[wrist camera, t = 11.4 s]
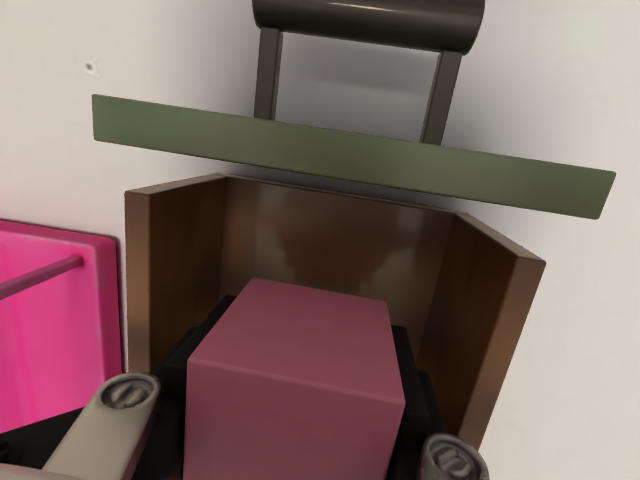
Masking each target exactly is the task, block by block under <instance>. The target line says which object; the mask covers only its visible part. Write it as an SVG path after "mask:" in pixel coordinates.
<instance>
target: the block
mask: <svg viewBox="0 0 640 480" xmlns="http://www.w3.org/2000/svg"><path fill="white" fill-rule="evenodd" d="M404 407H405V397H404V392H403V387H402V382H401V376H400V371H399V366H398V360H397V355H396V350H395V345H394V339H393V334H392V329H391V324H390V318H389V313H388V308H387V303H386V302H385V301H382V300H376V299H371V298H365V297H359V296H354V295H348V294H343V293H337V292H332V291H326V290H320V289H315V288H309V287H304V286H298V285H293V284H287V283H282V282H276V281H270V280H265V279H259V278H252V279H251V280H250V281H249V283H248V284H247V285H246V286H245V288H244V289H243V290H242V291H241V293H240V294H239V295H238V296H237V298H236V299H235V300H234V301H233V303H232V304H231V305H230V306H229V308H228V309H227V310H226V312H225V313H224V314H223V315H222V317H221V318H220V319H219V320H218V322H217V323H216V324H215V325H214V327H213V328H212V329H211V330H210V332H209V333H208V334H207V335H206V337H205V338H204V339H203V340H202V342H201V343H200V344H199V346H198V347H197V348H196V349H195V351H194V352H193V353H192V354H191V356H190V357H189V358H188V361H187V386H186V412H185V439H184V466H183V480H385V478H386V474H387V471H388V467H389V463H390V459H391V456H392V452H393V448H394V445H395V441H396V437H397V433H398V430H399V426H400V422H401V418H402V415H403V411H404Z"/></svg>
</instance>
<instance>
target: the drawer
mask: <svg viewBox="0 0 640 480" xmlns="http://www.w3.org/2000/svg"><path fill="white" fill-rule="evenodd" d="M252 7H253V15H254V19H255V23H256V25H257V27H258V28H260V29H261V34H260V46H259V58H258V70H257V82H256V94H255V106H254V118H252V117H245V116H238V115H232V114H225V113H218V112H212V111H205V110H198V109H192V108H185V107H178V106H171V105H165V104H158V103H151V102H145V101H138V100H131V99H125V98H118V97H111V96H105V95H98V94H93V95H92V111H93V132H94V139H95V140H96V141H102V142H108V143H114V144H121V145H127V146H133V147H140V148H146V149H152V150H159V151H165V152H171V153H177V154H184V155H190V156H196V157H203V158H209V159H215V160H222V161H228V162H234V163H241V164H247V165H253V166H259V167H266V168H272V169H278V170H285V171H291V172H297V173H304V174H310V175H316V176H323V177H329V178H335V179H342V180H348V181H354V182H360V183H367V184H373V185H379V186H386V187H392V188H398V189H405V190H411V191H417V192H424V193H430V194H436V195H443V196H449V197H455V198H461V199H468V200H474V201H480V202H487V203H493V204H499V205H506V206H512V207H518V208H525V209H531V210H537V211H543V212H550V213H556V214H562V215H569V216H575V217H581V218H588V219H594V220H596V219H599V217H600V214H601V212H602V209H603V207H604V204H605V202H606V199H607V197H608V194H609V192H610V189H611V187H612V184H613V181H614V179H615V176H616V173H615V172H613V171H607V170H600V169H593V168H587V167H580V166H573V165H567V164H560V163H553V162H546V161H540V160H533V159H526V158H520V157H513V156H506V155H500V154H493V153H486V152H480V151H473V150H466V149H459V148H453V147H446V146H441V142H442V138H443V133H444V129H445V125H446V121H447V117H448V113H449V108H450V104H451V100H452V96H453V92H454V88H455V83H456V79H457V75H458V71H459V67H460V63H461V58H462V56H464V55H467V54H468V53H469V51H470V50H471V48H472V46H473V44H474V42H475V40H476V37H477V35H478V32H479V29H480V26H481V22H482V19H483V14H484V9H485V0H252ZM282 32H288V33H295V34H303V35H311V36H318V37H326V38H333V39H341V40H348V41H356V42H363V43H371V44H379V45H386V46H394V47H401V48H409V49H416V50H424V51H432V52H439V53H440V54H439V56H438V59H437V64H436V68H435V73H434V77H433V82H432V86H431V91H430V95H429V100H428V104H427V109H426V113H425V118H424V122H423V127H422V131H421V136H420V140H419V142H413V141H406V140H399V139H392V138H386V137H379V136H372V135H366V134H359V133H352V132H346V131H339V130H332V129H325V128H319V127H312V126H305V125H299V124H292V123H285V122H279V121H275V112H276V102H277V92H278V82H279V72H280V62H281V52H282V42H283V34H282ZM124 196H125V238H126V280H127V322H128V364H129V372H138V371H140V372H148V373H149V372H150V371H151V370H152V369H153V368H154V367H155V366H156V365H157V364H158V363H159V362H160V360H161V359H162V358H163V357H164V356H165V355H166V354H167V353H168V352H169V351H170V350H171V348H172V347H173V346H174V345H175V344H176V343H177V342H178V341H179V340H180V339H181V338H182V336H183V335H184V334H185V333H186V332H187V331H188V330H189V329H190V328H191V327H198V326H199V325H200V324H201V323H202V322H203V321H204V319H205V318H206V317H207V316H208V315H209V314H210V313H211V311H212V310H213V309H214V308H215V307H216V306H217V305H218V303H219V302H220V301H221V300H222V299H223V298H224V297H225V295H227V294H228V295H233V296H238V295H239V294H240V293H241V291H242V290H243V289H244V288H245V286H246V285H247V284H248V283H249V281H250V280H251V279H252V278H259V279H265V280H270V281H276V282H282V283H287V284H293V285H298V286H304V287H309V288H315V289H320V290H326V291H332V292H337V293H343V294H348V295H354V296H359V297H365V298H371V299H376V300H382V301H385V302H386V303H387V308H388V313H389V318H390V324H391V325H396V326H402V327H406V330H407V333H408V337H409V341H410V345H411V348H412V352H413V356H414V359H415V363H416V367H417V369H418V370H423V371H427V372H428V374H429V376H430V379H431V382H432V386H433V389H434V392H435V395H436V398H437V401H438V405H439V408H440V411H441V414H442V417H443V420H444V424H445V427H446V430H447V433H448V434H452V435H455V436H457V437H459V438H461V439H463V440H465V441H466V442H467V443H469V444H470V445H471V446H473V447H474V448H475V449H476V451H477V452H478V450H479V447H480V445H481V442H482V439H483V436H484V434H485V431H486V428H487V425H488V423H489V420H490V417H491V414H492V412H493V409H494V406H495V403H496V401H497V398H498V395H499V392H500V390H501V387H502V384H503V381H504V379H505V376H506V373H507V370H508V368H509V365H510V362H511V359H512V357H513V354H514V351H515V348H516V346H517V343H518V340H519V337H520V335H521V332H522V329H523V326H524V324H525V321H526V318H527V315H528V313H529V310H530V307H531V304H532V302H533V299H534V296H535V293H536V291H537V288H538V285H539V282H540V280H541V277H542V274H543V271H544V269H545V266H546V261H544V260H543V259H541V258H540V257H538V256H536V255H535V254H533V253H531V252H530V251H528V250H527V249H525V248H523V247H522V246H520V245H518V244H517V243H515V242H513V241H512V240H510V239H509V238H507V237H505V236H504V235H502V234H500V233H499V232H497V231H496V230H494V229H492V228H491V227H489V226H487V225H486V224H484V223H483V222H481V221H479V220H478V219H476V218H474V217H473V216H471V215H469V214H468V213H465V212H459V211H453V210H447V209H441V208H434V207H428V206H422V205H416V204H410V203H403V202H397V201H391V200H385V199H378V198H372V197H366V196H360V195H354V194H347V193H341V192H335V191H329V190H323V189H316V188H310V187H304V186H298V185H291V184H285V183H279V182H273V181H267V180H260V179H254V178H248V177H242V176H236V175H229V174H223V173H214V174H209V175H204V176H199V177H194V178H189V179H184V180H179V181H174V182H169V183H163V184H158V185H153V186H148V187H143V188H138V189H133V190H128V191H125V193H124Z"/></svg>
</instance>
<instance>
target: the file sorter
mask: <svg viewBox="0 0 640 480" xmlns="http://www.w3.org/2000/svg"><path fill="white" fill-rule="evenodd" d="M120 374H122V368H121V349H120V330H119V312H118V291H117V269H116V249H115V242H114V240H112V239H111V238H109V237H103V236H96V235H89V234H83V233H77V232H71V231H65V230H59V229H52V228H46V227H40V226H34V225H27V224H21V223H15V222H9V221H2V220H0V433H3V432H7V431H10V430H13V429H16V428H19V427H22V426H25V425H28V424H32V423H35V422H38V421H41V420H44V419H47V418H50V417H54V416H57V415H60V414H63V413H66V412H69V411H72V410H75V409H79V408H82V407H85V406H86V405H87V403H88V402H89V400H90V399H91V397H92V396H93V394H94V393H95V392H96V390H97V389H98V388H99V387H100V386H101V385H102V384H103V383H105V382H106V381H108V380H109V379H111V378H113V377H115V376H118V375H120Z"/></svg>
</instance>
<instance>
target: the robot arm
mask: <svg viewBox="0 0 640 480" xmlns="http://www.w3.org/2000/svg"><path fill="white" fill-rule="evenodd" d="M236 298H237V296H233V295H228V294H227V295H225V297H224V298H223V299H222V300H221V301H220V302H219V303H218V305H217V306H216V307H215V308H214V309H213V310H212V311H211V313H210V314H209V315H208V316H207V317H206V318H205V319H204V321H203V322H202V323H201V324H200V325H199V326H198V327H191V328H190V329H189V330H188V331H187V332H186V333H185V334H184V335H183V336H182V338H181V339H180V340H179V341H178V342H177V343H176V344H175V345H174V346H173V347H172V348H171V350H170V351H169V352H168V353H167V354H166V355H165V356H164V357H163V358H162V359H161V360H160V362H159V363H158V364H157V365H156V366H155V367H154V368H153V369H152V370H151V371H150V372H149V373H148V372H140V371H138V372H128V373H124V374H120V375H118V376H115V377H113V378H111V379H109V380H108V381H106V382H105V383H103V384H102V385H101V386H100V387H99V388H98V389H97V390H96V392H95V393H94V394H93V396H92V397H91V399H90V400H89V402H88V403H87V405H86V406H85V407H82V408H79V409H75V410H72V411H69V412H66V413H63V414H60V415H57V416H54V417H50V418H47V419H44V420H41V421H38V422H35V423H32V424H28V425H25V426H22V427H19V428H16V429H13V430H10V431H7V432H3V433H0V480H164V479H166V478H168V477H171V478H176V479H180V480H182V478H183V466H184V439H185V412H186V386H187V361H188V358H189V357H190V356H191V354H192V353H193V352H194V351H195V349H196V348H197V347H198V346H199V344H200V343H201V342H202V340H203V339H204V338H205V337H206V335H207V334H208V333H209V332H210V330H211V329H212V328H213V327H214V325H215V324H216V323H217V322H218V320H219V319H220V318H221V317H222V315H223V314H224V313H225V312H226V310H227V309H228V308H229V306H230V305H231V304H232V303H233V301H234V300H235V299H236ZM391 329H392V334H393V339H394V345H395V350H396V355H397V360H398V366H399V371H400V376H401V382H402V387H403V392H404V397H405V407H404V411H403V415H402V418H401V422H400V426H399V430H398V433H397V437H396V441H395V445H394V448H393V452H392V456H391V459H390V463H389V467H388V471H387V474H386V478H385V480H490V479H489V472H488V469H487V466H486V463H485V461H484V460H483V458H482V457H481V455H480V454H479V453H478V452H477V451H476V449H475V448H474V447H473V446H471V445H470V444H469V443H467V442H466V441H465V440H463V439H461V438H459V437H457V436H455V435H452V434H448V433H447V430H446V427H445V424H444V420H443V417H442V414H441V411H440V408H439V405H438V401H437V398H436V395H435V392H434V389H433V386H432V382H431V379H430V376H429V374H428V372H427V371H423V370H418V369H417V367H416V363H415V359H414V356H413V352H412V348H411V345H410V341H409V337H408V333H407V330H406V327H402V326H396V325H391Z"/></svg>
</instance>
